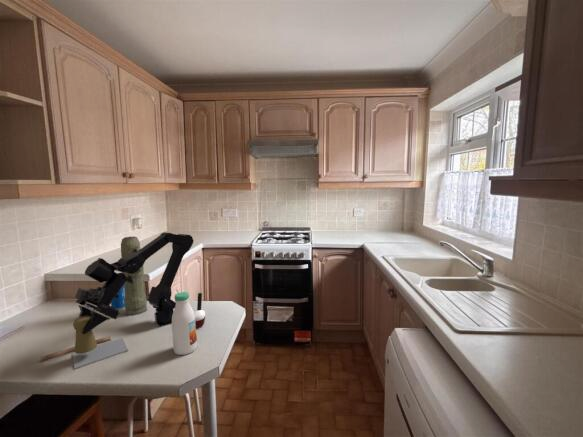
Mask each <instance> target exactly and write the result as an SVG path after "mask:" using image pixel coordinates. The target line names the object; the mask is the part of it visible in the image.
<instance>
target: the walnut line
mask: <svg viewBox="0 0 583 437" xmlns="http://www.w3.org/2000/svg"><path fill="white" fill-rule="evenodd" d="M95 340H96V344H98V345H101V344H104V343H107V342H111V341H112V340H111V335H109V336H108V335H107V336H105V337H102V338H98V339H95ZM100 343H101V344H100ZM73 353H75V346H72V347H69V348H66V349H61V350H58V351H55V352H52V353H49V354H46V355H42V356H40V357H39V363H43V362H46V361H50V360H52V359H55V358H60V357H62V356H64V355H68V354H73Z"/></svg>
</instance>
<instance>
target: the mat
mask: <svg viewBox="0 0 583 437" xmlns="http://www.w3.org/2000/svg"><path fill="white" fill-rule="evenodd" d="M128 351H129V349H128V347H127V345H126V343H125V340H124V339H123V337H120V338H117V339H113V340H110V341H107V342H104V343H101V344H98V345H97V347H96V348H95V349H93V350H92V351H89V352H86V353H82V354H77V353H75V352H72V361H73V368H74V370H77V369H81V368H83V367H86V366H89V365H91V364H94V363H97V362H100V361H103V360H106V359H109V358H112V357H115V356H118V355H120V354H121V355H122V354H123V353H126V352H128Z"/></svg>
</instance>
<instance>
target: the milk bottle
mask: <svg viewBox="0 0 583 437" xmlns="http://www.w3.org/2000/svg"><path fill="white" fill-rule="evenodd" d="M189 300H190V294H189V292H187V291H181V292H178V293H175V294H174V302H176V306H175V308H174V309H173V315H172V323H171V333H172V344H173V352H174V353H175V354H176V355H177V356H178V355H179V356H183V355H189V354H191V353H193V352H194V351H196V349H197V348H198V339H197V338H198V337H197V335H198V334H197V328H196V321H195V314H194V312H195V311H194V310H193V308H192V306H191V304H190V301H189Z"/></svg>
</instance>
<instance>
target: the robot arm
mask: <svg viewBox="0 0 583 437" xmlns="http://www.w3.org/2000/svg"><path fill="white" fill-rule="evenodd" d="M169 243H171V247H172V252H171V255H170V257H169V260H168V261H167V264H166V267H165V269H164V271H163V274H162V276H161V278H160V281H159V283H158V284H157V285H156V286H152V287H151V289H150V291H149V293H148V295H147V297H148V298H147V302H148V304H149V305H150V306H152V308H154V309H155V312H154V313H153V314H154V322H155V324H157V326H158V327H163V326H166V325H169V324H172V315H173V312H174V309H175V306H176V302H175V300H172V299H171V298H172V286H173V283H174V281H175V278H176V275H177V273H178V270H179V269H180V268H179V267H180V265H181V263H182V261H183V258H184V256H185V255H186V254H187V253H188V252H189V251H190V250H191V248H192V247H193V244H194V238H193V236H192V235H190V234H185V233H178V234H176V233H172V232H167V231H165V232H162V233H161V234H160V235H158V236H157V237H155V238H154V239H153V240H151V241H150V242H148V243H146V245H144V246H143V247H142V248H141V247H140V250H139V251H137V252H134V253H131V254H128V255H126V256H124V257H122V256H121V257H120V258H119V259H118V260H117V261H115V262H112V263H109V262H108V261H106V260H105V259H104V258H101V257H99V258H98V259H96V260H95V261H93V262H92V263H91V264H89V265H88V266H87V267H86V268H85V270H84V275H85V276H87V277H89V278H91V279H93V280H95V281H96V282H98V283H103V285H102V286H97V287H96V288H91V287H90V288H89V289H88V288H80V287H79V288H78V289H77V291H76V295H75V296H74V298H75V299H76V301H75V303H76V304H78V307H79V311H80V313H79V315H78V318H79V317H81V316H90V319H89V321H88V322H87V324H86V326H85V327H84V329H83V331H82V334H86V333H87V332H89V331H90V330H93V329H95V328H96V327H98V326H100V325H101V324H102V323H104V322H106V321H108V320H110V319H113V320H117V318H118V317H119V315H120V310H116V309H114V308H112V307H111V303H112V301H113V300H114V298H118V297H119V295H117V294H118V293H119V291H120V290H121V289H122V287H123V286H124V284H125V283H126V282H128V283H133V281H132V276H130V275H128V276H126V275H124V274H123V273H122V272H125V273H129V274H134V273H136V272H137V271H138V270H139V269H140V268H141V267H142V266H143V267H144V264H145V263H146V261H147V260H148V259H149V258H150V257H152V256H153V255H154V254H156V253H157V252H158V251H159V250H161V249H163V248H164V247H165V246H166V245H168V244H169ZM73 329H74V330H75V331H76V329H75V328H74V327H73Z"/></svg>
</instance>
